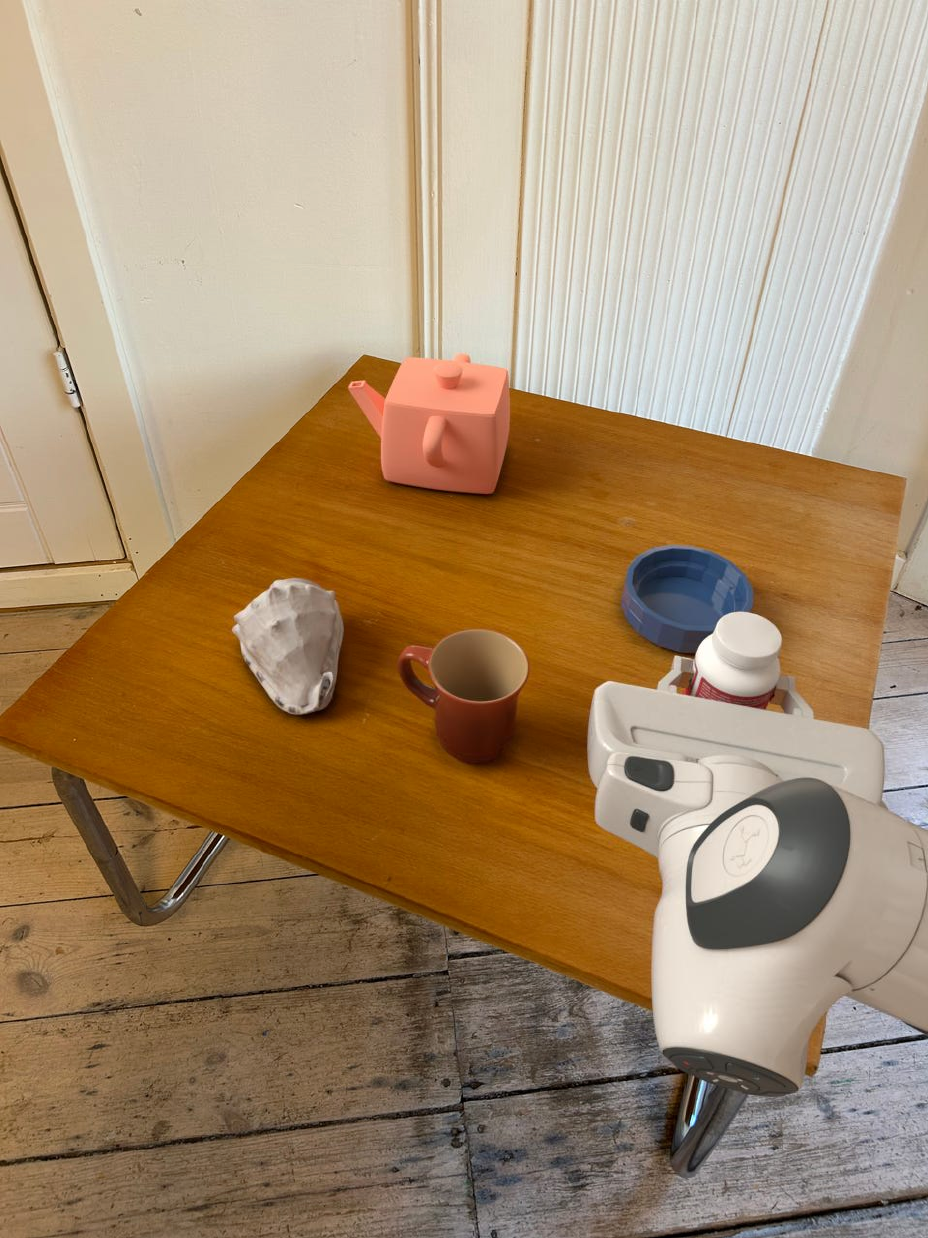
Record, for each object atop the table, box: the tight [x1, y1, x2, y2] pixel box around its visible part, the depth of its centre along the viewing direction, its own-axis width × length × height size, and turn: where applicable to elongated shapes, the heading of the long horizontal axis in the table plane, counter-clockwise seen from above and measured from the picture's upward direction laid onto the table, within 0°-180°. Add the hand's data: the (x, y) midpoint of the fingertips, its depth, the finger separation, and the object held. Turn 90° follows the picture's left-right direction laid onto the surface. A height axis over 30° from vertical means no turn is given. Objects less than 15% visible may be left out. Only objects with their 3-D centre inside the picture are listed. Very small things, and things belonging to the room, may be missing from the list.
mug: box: [397, 628, 530, 764], centre depth 78 cm, size 12×9×10 cm
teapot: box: [347, 352, 511, 495], centre depth 108 cm, size 20×22×14 cm
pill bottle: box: [682, 612, 783, 710], centre depth 66 cm, size 6×6×11 cm
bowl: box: [620, 544, 754, 654], centre depth 93 cm, size 13×14×4 cm
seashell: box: [231, 577, 345, 716], centre depth 84 cm, size 12×14×10 cm
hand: (731, 671), depth 66 cm, fingers closed on pill bottle, 6 cm apart
